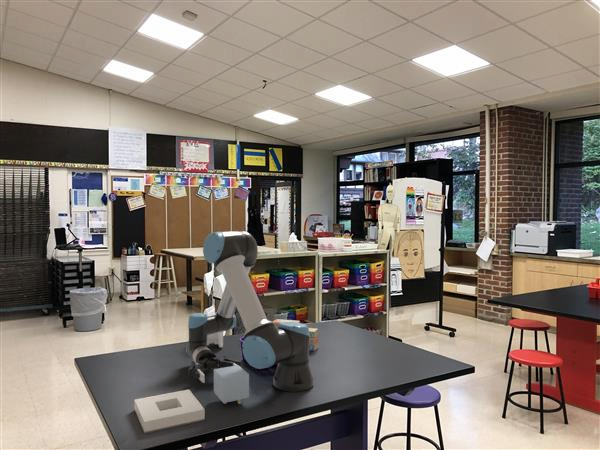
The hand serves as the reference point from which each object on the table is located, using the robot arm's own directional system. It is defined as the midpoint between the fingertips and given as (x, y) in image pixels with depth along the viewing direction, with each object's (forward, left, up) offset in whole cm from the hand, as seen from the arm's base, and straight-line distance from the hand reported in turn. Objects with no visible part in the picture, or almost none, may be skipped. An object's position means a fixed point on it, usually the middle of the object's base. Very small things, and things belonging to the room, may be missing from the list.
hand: (222, 375), depth 164 cm
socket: (+3, +22, -6) cm, 23 cm away
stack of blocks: (+7, -61, -7) cm, 61 cm away
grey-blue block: (-8, +4, -6) cm, 11 cm away
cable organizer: (+43, -41, -7) cm, 59 cm away
